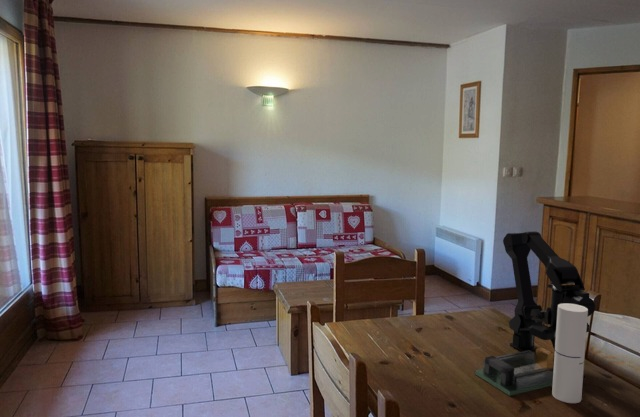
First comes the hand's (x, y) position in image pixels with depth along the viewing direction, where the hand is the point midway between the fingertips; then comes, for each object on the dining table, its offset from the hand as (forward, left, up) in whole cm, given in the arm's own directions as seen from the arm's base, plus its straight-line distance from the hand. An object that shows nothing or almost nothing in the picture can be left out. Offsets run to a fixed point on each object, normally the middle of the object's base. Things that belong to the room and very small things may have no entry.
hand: (557, 355), depth 148 cm
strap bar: (+11, 0, -3) cm, 12 cm away
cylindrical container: (+11, +13, -5) cm, 18 cm away
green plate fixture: (+14, 0, -4) cm, 15 cm away
